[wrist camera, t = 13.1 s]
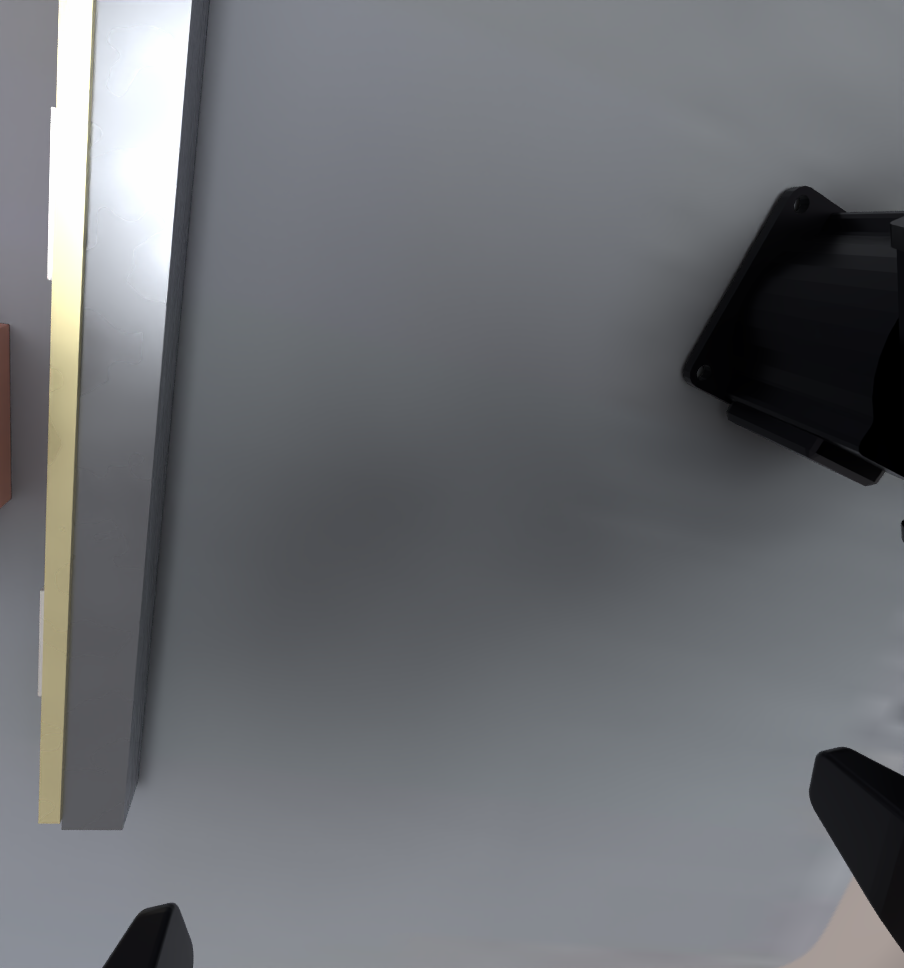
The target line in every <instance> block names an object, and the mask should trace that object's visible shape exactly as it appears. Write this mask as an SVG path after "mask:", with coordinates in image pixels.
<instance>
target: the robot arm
mask: <svg viewBox="0 0 904 968" xmlns="http://www.w3.org/2000/svg"><path fill="white" fill-rule="evenodd" d="M797 198H799V199H800V207H799V209H798V210H797V211H795V210H794V204H795V201H796V199H797ZM703 365H704V369H705V370H704V373H703V374H702V375H701V376H700V377H698V378H697V371H698V369H699V368H700V367H701V366H703ZM683 376H684V379H685V381H686V382H687V383H689V384H690V385H692V386H694V387H696V388H698V389H700V390H702V391H704V392H706V393H708V394H710V395H712V396H714V397H716V398H718V399H720V400H722V401H724V402H726V403H728V404H730V406H729V408H728V409H727V411H726V413H727V416H728V420H730V421H732V422H734V423H736V424H738V425H740V426H742V427H744V428H746V429H748V430H750V431H752V432H754V433H756V434H758V435H760V436H762V437H764V438H766V439H768V440H770V441H772V442H774V443H776V444H778V445H780V446H782V447H784V448H786V449H789V450H791V451H793V452H795V453H797V454H799V455H801V456H803V457H805V458H807V459H809V460H812V461H814V462H816V463H818V464H820V465H822V466H824V467H826V468H828V469H830V470H832V471H835V472H837V473H839V474H841V475H843V476H845V477H847V478H849V479H851V480H853V481H855V482H858V483H860V484H862V485H864V486H869V485H873V484H877V483H878V481H879V480H880V478H881V477H882V476H883V474H884V473H885V472H887V473H889V474H892V475H894V476H896V477H899V478H901V479H903V480H904V211H887V212H846V211H844V210H843V209H841V208H840V207H838V206H837V205H835V204H834V203H833V202H831V201H830V200H828V199H827V198H825V197H824V196H823V195H821V194H820V193H818V192H817V191H815V190H814V189H812V188H810V187H808V186H800V187H792V188H790V189H788V190H787V191H785V192H784V194H783V195H782V196H781V198H780V199H779V201H778V203H777V205H776V206H775V208H774V210H773V212H772V213H771V215H770V217H769V219H768V220H767V222H766V224H765V226H764V228H763V229H762V231H761V233H760V235H759V236H758V238H757V240H756V242H755V243H754V245H753V247H752V249H751V250H750V252H749V254H748V256H747V257H746V259H745V261H744V263H743V264H742V266H741V268H740V270H739V271H738V273H737V275H736V277H735V278H734V280H733V282H732V284H731V285H730V287H729V289H728V291H727V292H726V294H725V296H724V298H723V299H722V301H721V303H720V305H719V306H718V308H717V310H716V312H715V313H714V315H713V317H712V319H711V320H710V322H709V324H708V326H707V327H706V329H705V331H704V333H703V335H702V336H701V338H700V340H699V342H698V343H697V345H696V347H695V349H694V350H693V352H692V354H691V356H690V357H689V359H688V361H687V363H686V364H685V367H684V370H683ZM901 532H902V540H903V542H904V520H903V521H902V522H901ZM809 797H810V801H811V804H812V806H813V808H814V810H815V812H816V814H817V815H818V817H819V819H820V820H821V822H822V824H823V825H824V827H825V829H826V831H827V832H828V834H829V836H830V837H831V839H832V841H833V842H834V844H835V846H836V847H837V849H838V851H839V852H840V854H841V856H842V857H843V859H844V861H845V862H846V864H847V866H848V867H849V869H850V871H851V872H852V874H853V876H854V877H855V879H856V881H857V882H858V884H859V886H860V887H861V889H862V890H863V892H864V894H865V896H866V897H867V899H868V900H869V902H870V904H871V905H872V907H873V908H874V910H875V911H876V913H877V915H878V916H879V918H880V919H881V921H882V922H883V924H884V925H885V926H886V928H887V929H888V931H889V932H890V934H891V935H892V937H893V938H894V939H895V941H896V942H897V944H898V945H899V946H900V948H901V949H902V951H903V952H904V776H902V775H901V774H899V773H897V772H895V771H893V770H891V769H889V768H887V767H885V766H883V765H881V764H879V763H877V762H876V761H874V760H872V759H870V758H868V757H866V756H864V755H862V754H860V753H858V752H856V751H854V750H852V749H850V748H847V747H837V748H833V749H829V750H825V751H821V752H819V753H818V754H817V756H816V758H815V763H814V768H813V773H812V778H811V783H810V788H809ZM103 968H193V946H192V942H191V939H190V936H189V933H188V931H187V928H186V925H185V923H184V920H183V917H182V914H181V912H180V909H179V907H178V906H177V905H176V904H175V903H167V904H163V905H158V906H154V907H150V908H146V909H144V910H143V911H141V912H140V913H139V914H138V915H137V916H136V918H135V919H134V920H133V922H132V923H131V925H130V927H129V928H128V930H127V931H126V933H125V934H124V936H123V937H122V939H121V940H120V942H119V943H118V945H117V946H116V948H115V949H114V951H113V952H112V954H111V955H110V957H109V958H108V960H107V961H106V963H105V965H104V966H103Z"/></svg>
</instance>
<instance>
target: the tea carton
mask: <svg viewBox="0 0 904 968" xmlns="http://www.w3.org/2000/svg"><path fill="white" fill-rule="evenodd" d="M10 499H11V436H10V349H9V325H8V324H2V323H0V508H1V507H2V506H3V505H4V504H6V503H7V502H8V501H9V500H10Z"/></svg>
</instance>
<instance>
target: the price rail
mask: <svg viewBox="0 0 904 968" xmlns="http://www.w3.org/2000/svg"><path fill="white" fill-rule="evenodd" d="M209 1H210V0H59V30H58V70H57V108H54V107H51V144H50V188H49V232H48V275H47V279H50V280H52V307H51V347H50V386H49V426H48V465H47V505H46V544H45V584H44V586H43V588H42V589H41V590H40V625H39V669H38V696H42V703H41V742H40V782H39V821H38V823H46V824H60V822H61V819H62V830H123V826H124V823H125V820H126V817H127V814H128V811H129V808H130V805H131V802H132V799H133V795H134V792H135V789H136V786H137V783H138V776H139V765H140V754H141V743H142V732H143V721H144V710H145V699H146V688H147V677H148V666H149V656H150V645H151V634H152V623H153V612H154V601H155V590H156V579H157V568H158V557H159V546H160V535H161V525H162V514H163V503H164V492H165V481H166V470H167V459H168V448H169V437H170V426H171V415H172V404H173V394H174V383H175V372H176V361H177V350H178V339H179V328H180V317H181V306H182V295H183V284H184V274H185V263H186V252H187V241H188V230H189V219H190V208H191V197H192V186H193V175H194V164H195V153H196V143H197V132H198V121H199V110H200V99H201V88H202V77H203V66H204V55H205V44H206V33H207V22H208V12H209Z"/></svg>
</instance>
